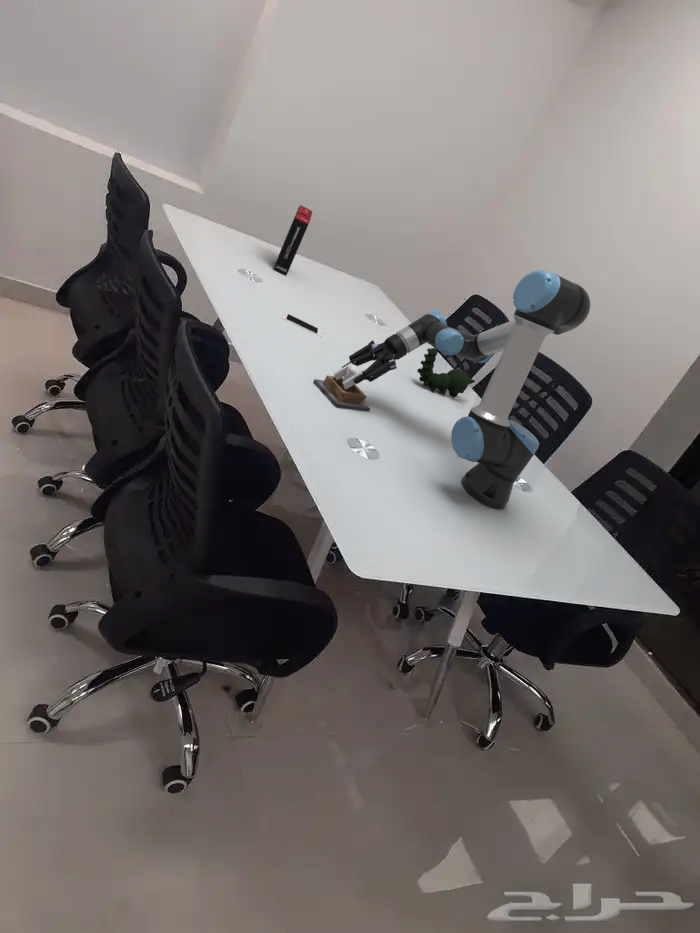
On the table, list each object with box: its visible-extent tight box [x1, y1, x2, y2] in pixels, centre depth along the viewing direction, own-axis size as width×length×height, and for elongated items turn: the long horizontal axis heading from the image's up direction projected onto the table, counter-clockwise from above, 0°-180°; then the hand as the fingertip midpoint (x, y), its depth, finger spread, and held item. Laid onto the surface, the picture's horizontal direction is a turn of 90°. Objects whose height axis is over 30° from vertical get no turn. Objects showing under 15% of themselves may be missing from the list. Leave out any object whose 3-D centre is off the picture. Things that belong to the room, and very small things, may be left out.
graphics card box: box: [273, 204, 313, 276], centre depth 314 cm, size 17×7×27 cm, turn 1°
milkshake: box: [340, 364, 366, 392], centre depth 223 cm, size 4×5×10 cm
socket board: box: [313, 374, 371, 412], centre depth 226 cm, size 14×14×4 cm
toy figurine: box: [417, 347, 476, 398], centre depth 275 cm, size 9×19×25 cm
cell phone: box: [282, 312, 324, 338], centre depth 269 cm, size 8×16×1 cm, turn 89°
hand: (339, 381), depth 222 cm, fingers closed on milkshake, 4 cm apart
